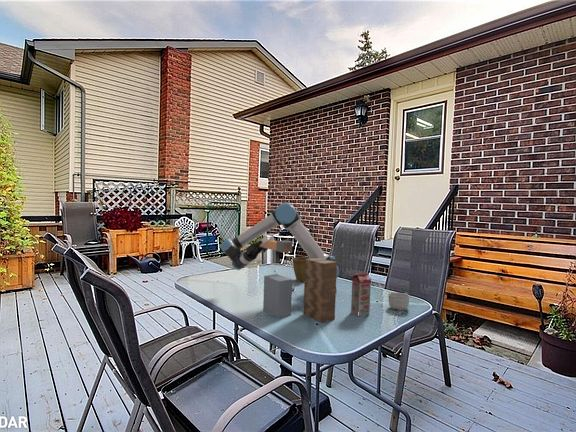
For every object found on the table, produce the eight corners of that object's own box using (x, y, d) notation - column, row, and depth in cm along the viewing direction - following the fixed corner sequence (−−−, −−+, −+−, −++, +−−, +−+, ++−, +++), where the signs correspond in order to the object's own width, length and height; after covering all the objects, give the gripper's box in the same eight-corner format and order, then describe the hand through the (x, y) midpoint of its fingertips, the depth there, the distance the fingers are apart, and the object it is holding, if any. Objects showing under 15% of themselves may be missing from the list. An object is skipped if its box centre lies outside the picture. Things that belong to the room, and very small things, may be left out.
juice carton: (350, 312, 172) (352, 270, 171) (361, 311, 174) (363, 269, 173) (358, 316, 166) (360, 273, 165) (369, 315, 168) (371, 272, 167)
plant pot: (312, 283, 231) (313, 260, 231) (291, 282, 231) (292, 259, 231) (311, 278, 246) (312, 257, 245) (291, 277, 246) (292, 256, 246)
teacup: (398, 313, 174) (399, 297, 173) (383, 306, 183) (384, 292, 183) (417, 309, 180) (417, 295, 180) (401, 304, 190) (402, 290, 189)
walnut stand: (303, 314, 167) (305, 259, 166) (315, 311, 172) (317, 257, 170) (322, 322, 156) (325, 263, 155) (334, 319, 161) (336, 262, 160)
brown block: (255, 246, 178) (255, 236, 178) (264, 245, 182) (265, 236, 181) (282, 252, 159) (282, 242, 159) (292, 251, 163) (292, 241, 162)
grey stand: (263, 310, 170) (264, 275, 170) (275, 307, 175) (276, 274, 174) (278, 318, 160) (279, 281, 159) (291, 314, 165) (292, 279, 164)
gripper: (262, 260, 193) (284, 244, 177) (237, 263, 182) (257, 246, 166) (259, 248, 196) (280, 232, 179) (234, 250, 185) (254, 233, 169)
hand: (269, 239), depth 173 cm, fingers closed on brown block, 4 cm apart
